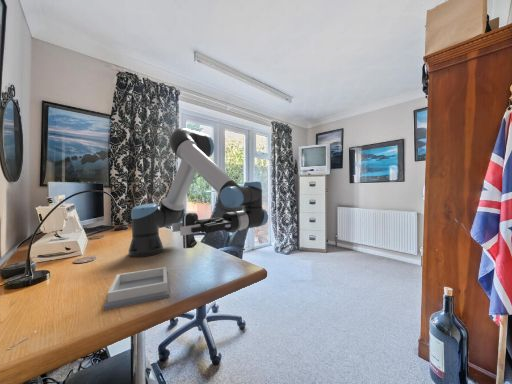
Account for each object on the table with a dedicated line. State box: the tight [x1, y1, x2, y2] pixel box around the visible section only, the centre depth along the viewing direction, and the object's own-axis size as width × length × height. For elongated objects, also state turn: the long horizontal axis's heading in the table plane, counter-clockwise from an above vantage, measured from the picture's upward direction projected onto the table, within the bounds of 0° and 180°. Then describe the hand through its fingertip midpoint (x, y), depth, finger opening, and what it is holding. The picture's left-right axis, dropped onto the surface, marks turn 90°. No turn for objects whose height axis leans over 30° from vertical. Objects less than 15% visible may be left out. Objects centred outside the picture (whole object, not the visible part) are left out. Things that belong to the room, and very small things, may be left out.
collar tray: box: [103, 266, 170, 311], centre depth 69 cm, size 18×16×4 cm
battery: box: [181, 212, 199, 250], centre depth 76 cm, size 7×4×11 cm, turn 179°
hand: (176, 229), depth 73 cm, fingers closed on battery, 7 cm apart
